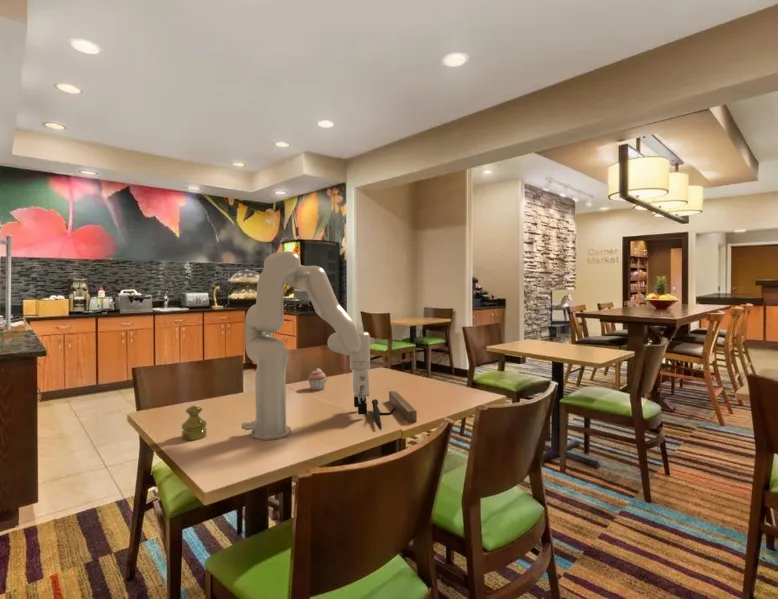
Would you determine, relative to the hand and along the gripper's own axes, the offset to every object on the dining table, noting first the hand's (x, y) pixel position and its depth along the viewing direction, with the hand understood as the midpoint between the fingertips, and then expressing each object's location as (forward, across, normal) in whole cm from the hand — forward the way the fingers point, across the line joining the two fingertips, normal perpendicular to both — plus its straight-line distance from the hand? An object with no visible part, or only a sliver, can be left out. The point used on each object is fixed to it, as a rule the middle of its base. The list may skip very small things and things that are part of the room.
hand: (360, 410), depth 165 cm
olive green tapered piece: (+2, -11, +56) cm, 57 cm away
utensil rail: (+2, +1, -16) cm, 16 cm away
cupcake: (+2, +45, +13) cm, 47 cm away
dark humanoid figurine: (+2, -7, -8) cm, 11 cm away
